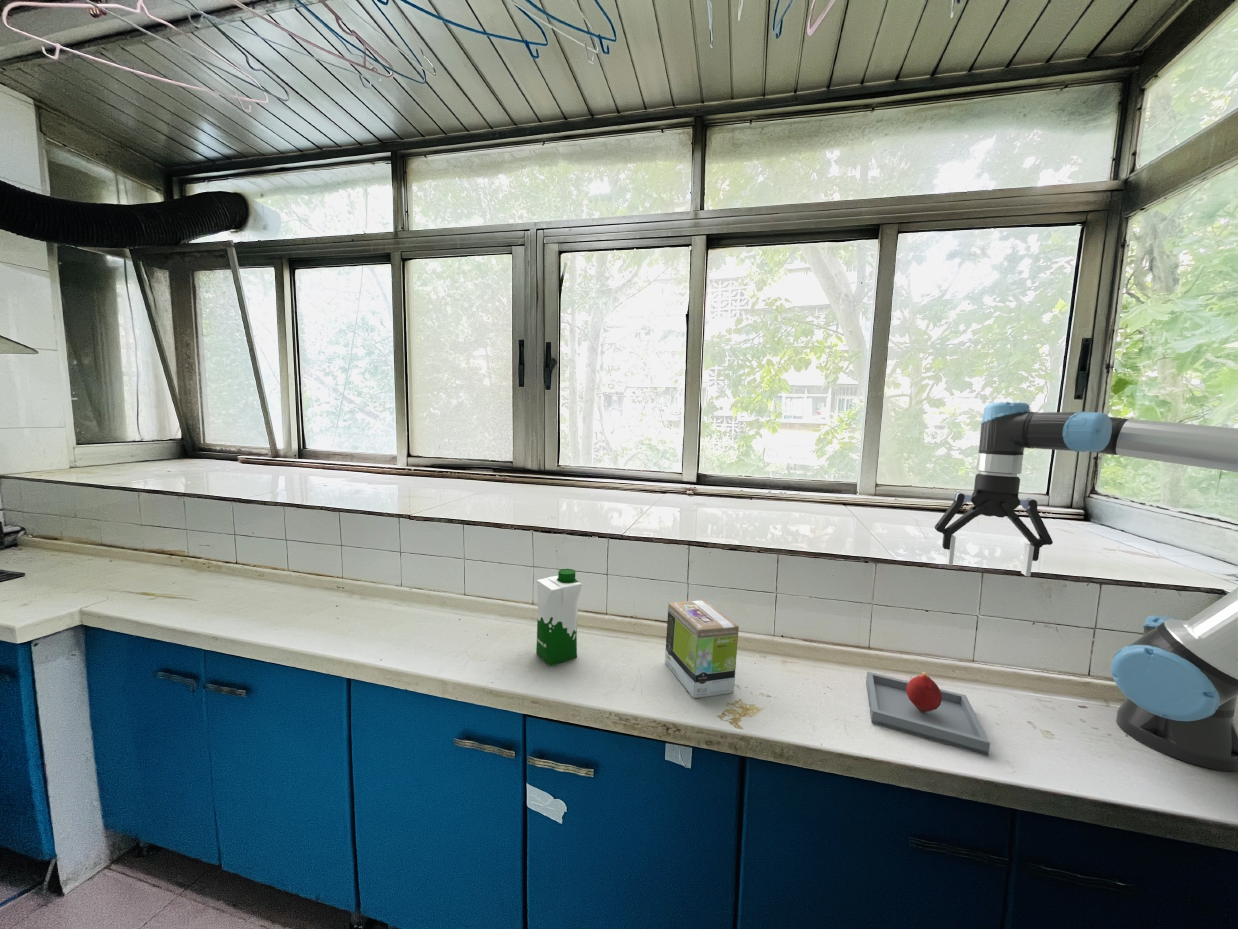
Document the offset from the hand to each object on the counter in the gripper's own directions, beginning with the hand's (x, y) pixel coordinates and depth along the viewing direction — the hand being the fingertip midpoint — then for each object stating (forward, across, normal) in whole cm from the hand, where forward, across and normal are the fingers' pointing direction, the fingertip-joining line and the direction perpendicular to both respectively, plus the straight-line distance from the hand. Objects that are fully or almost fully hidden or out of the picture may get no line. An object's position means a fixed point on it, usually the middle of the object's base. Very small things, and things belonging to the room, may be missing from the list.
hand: (986, 569), depth 100 cm
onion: (+26, +13, +20) cm, 35 cm away
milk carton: (+27, +88, +37) cm, 99 cm away
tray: (+27, +13, +20) cm, 36 cm away
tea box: (+27, +56, +29) cm, 69 cm away
